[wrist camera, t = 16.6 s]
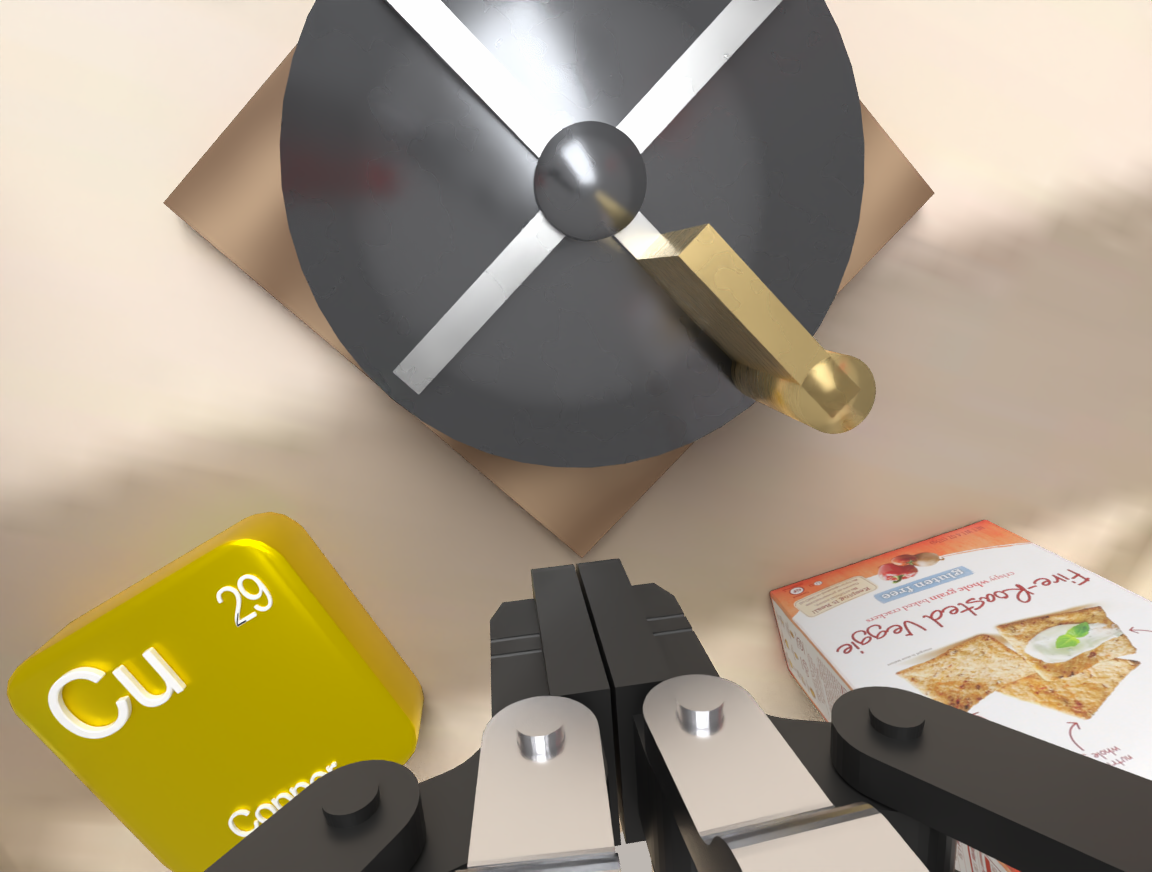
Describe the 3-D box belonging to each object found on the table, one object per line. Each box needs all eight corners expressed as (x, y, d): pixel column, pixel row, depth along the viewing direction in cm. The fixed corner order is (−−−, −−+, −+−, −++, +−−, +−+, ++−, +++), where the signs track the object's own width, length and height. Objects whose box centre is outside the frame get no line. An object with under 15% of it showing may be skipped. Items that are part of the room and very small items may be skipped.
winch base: (164, 195, 32) (111, 182, 27) (547, -259, 30) (557, -356, 25) (587, 554, 39) (600, 592, 34) (924, 206, 36) (986, 196, 32)
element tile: (219, 831, 40) (184, 904, 36) (39, 639, 36) (-26, 692, 32) (438, 702, 40) (432, 758, 35) (282, 494, 36) (252, 527, 32)
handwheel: (958, 193, 31) (1117, 166, 23) (594, 564, 33) (627, 655, 25) (575, -298, 25) (614, -557, 17) (160, 191, 27) (26, 158, 19)
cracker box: (982, 510, 41) (1460, 740, 21) (995, 597, 43) (1451, 890, 22) (762, 584, 40) (1035, 895, 20) (783, 670, 42) (1057, 1039, 22)
